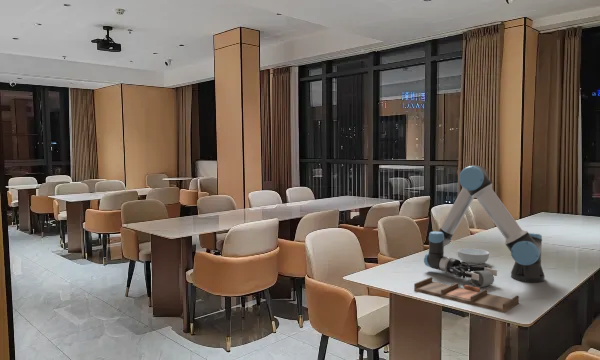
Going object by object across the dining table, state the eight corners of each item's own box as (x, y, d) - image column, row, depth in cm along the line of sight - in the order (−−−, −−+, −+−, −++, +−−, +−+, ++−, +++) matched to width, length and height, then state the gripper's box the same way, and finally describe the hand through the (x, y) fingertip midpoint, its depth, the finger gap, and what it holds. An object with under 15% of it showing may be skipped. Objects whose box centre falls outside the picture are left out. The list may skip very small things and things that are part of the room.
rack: (519, 303, 190) (519, 295, 190) (504, 312, 179) (505, 304, 179) (431, 283, 219) (431, 276, 219) (414, 290, 208) (414, 283, 208)
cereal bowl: (467, 267, 248) (468, 255, 247) (451, 260, 264) (451, 248, 264) (495, 266, 251) (495, 253, 251) (477, 259, 267) (477, 247, 267)
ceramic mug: (495, 286, 213) (495, 270, 213) (483, 289, 209) (483, 273, 209) (476, 281, 222) (476, 266, 222) (465, 284, 218) (465, 268, 218)
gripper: (466, 269, 236) (503, 279, 218) (433, 276, 223) (470, 287, 205) (467, 255, 236) (504, 263, 218) (434, 261, 222) (470, 271, 204)
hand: (487, 275), depth 211 cm, fingers open, 13 cm apart
